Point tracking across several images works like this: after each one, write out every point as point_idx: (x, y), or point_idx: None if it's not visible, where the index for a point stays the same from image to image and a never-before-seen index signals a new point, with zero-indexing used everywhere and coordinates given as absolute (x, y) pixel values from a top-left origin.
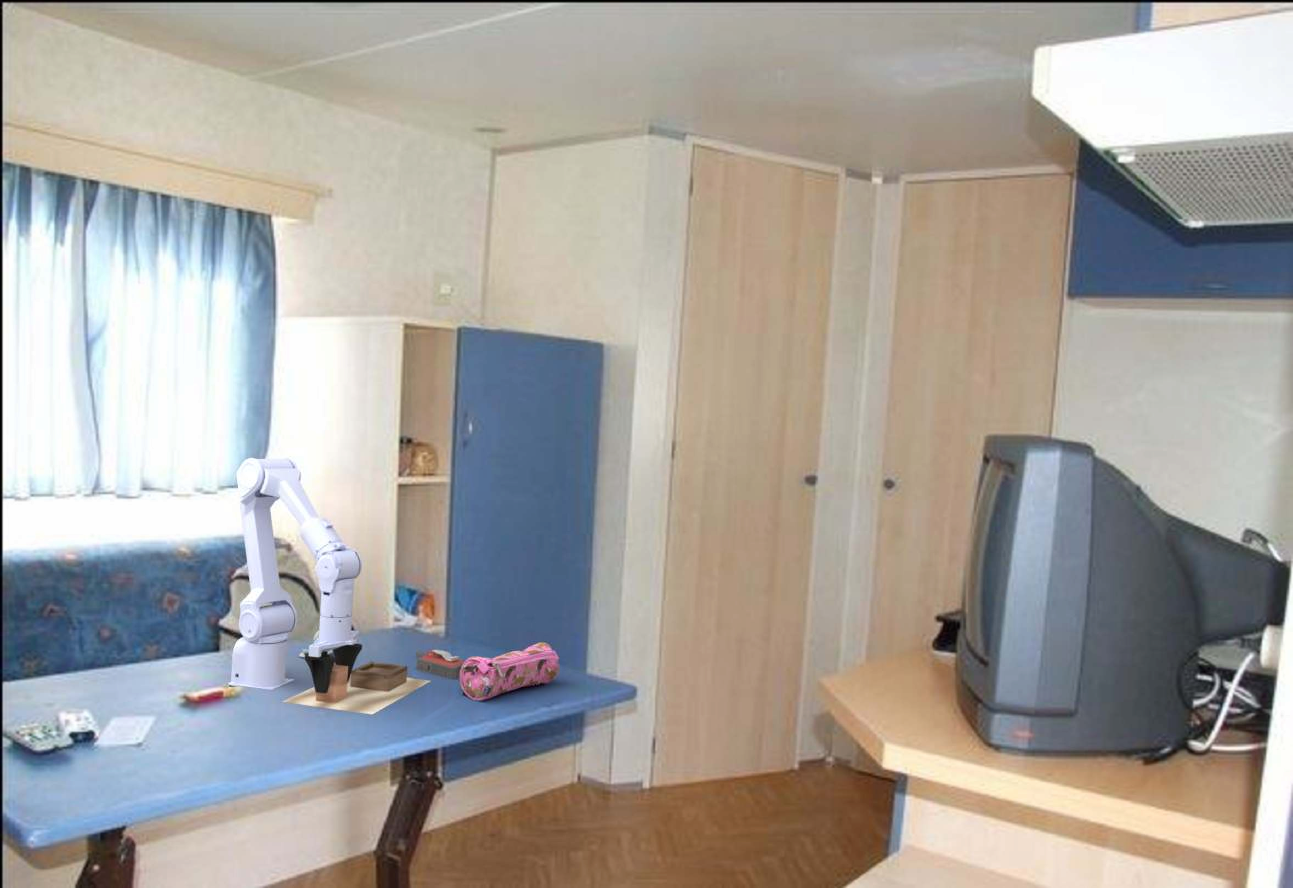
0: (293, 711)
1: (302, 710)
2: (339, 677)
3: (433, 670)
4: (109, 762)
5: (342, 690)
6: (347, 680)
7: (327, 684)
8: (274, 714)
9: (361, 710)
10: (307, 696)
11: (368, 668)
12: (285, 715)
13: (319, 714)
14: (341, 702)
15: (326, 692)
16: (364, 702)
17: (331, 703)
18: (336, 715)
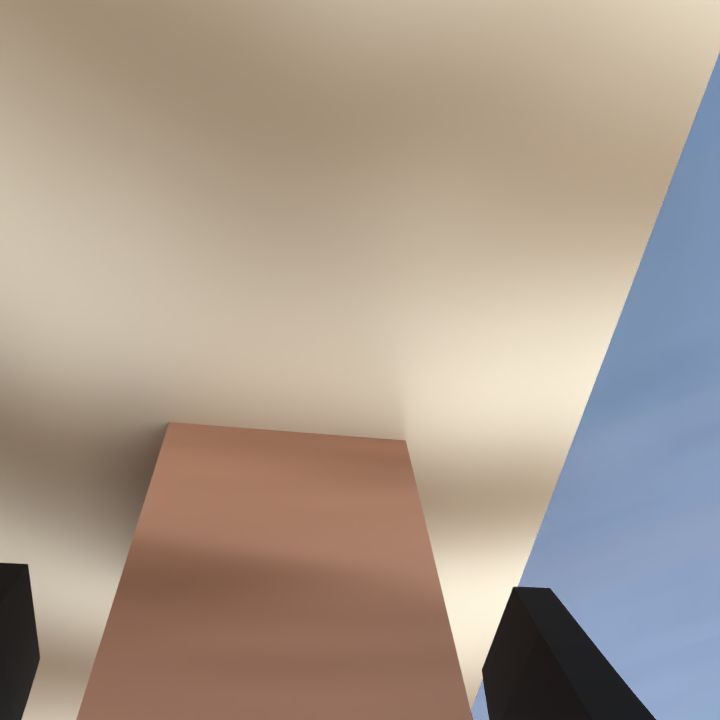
0: (596, 619)
1: (562, 584)
2: (382, 681)
3: None
4: None
5: (261, 501)
6: (7, 586)
7: (614, 672)
8: (678, 675)
9: (627, 68)
10: None
11: None
12: (699, 622)
13: (660, 446)
14: (351, 402)
15: (531, 590)
16: (258, 164)
17: (413, 468)
18: (685, 305)
